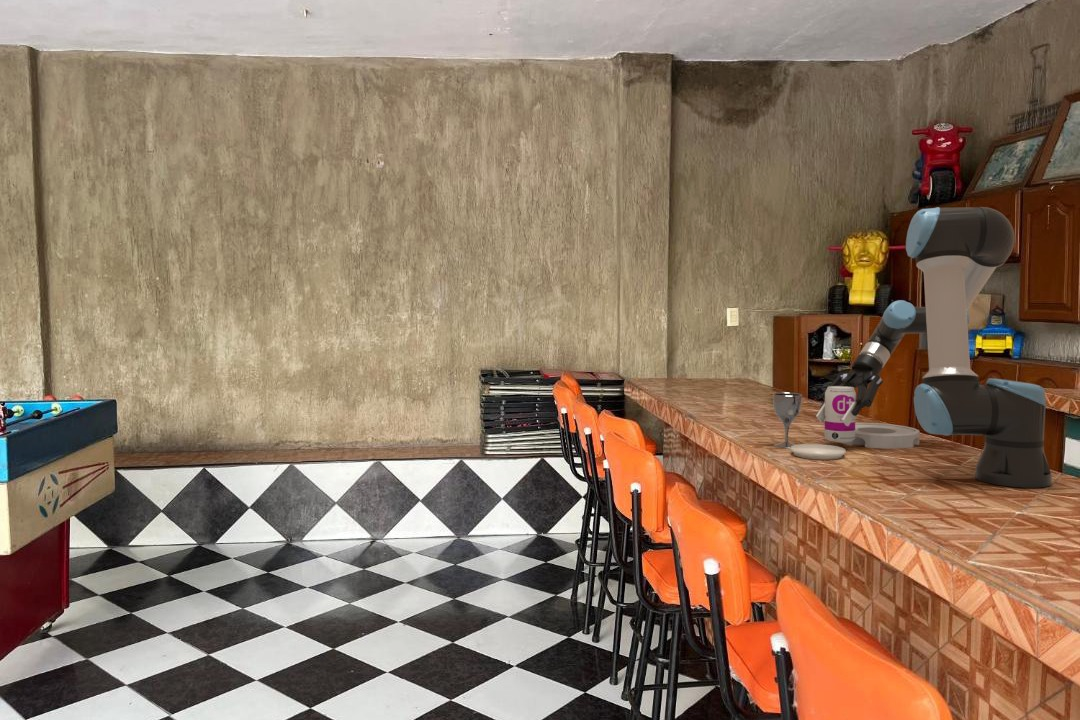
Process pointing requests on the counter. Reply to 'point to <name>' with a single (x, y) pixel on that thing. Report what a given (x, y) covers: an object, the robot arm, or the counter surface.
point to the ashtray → (884, 436)
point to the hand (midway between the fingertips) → (831, 420)
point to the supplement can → (838, 413)
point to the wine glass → (786, 411)
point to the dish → (818, 451)
